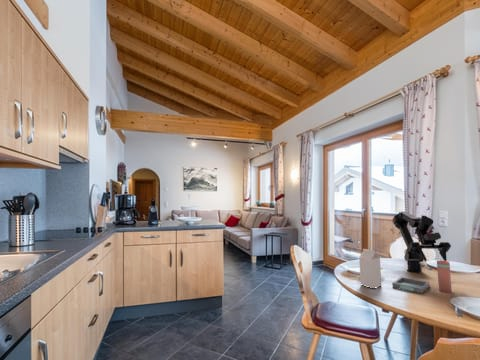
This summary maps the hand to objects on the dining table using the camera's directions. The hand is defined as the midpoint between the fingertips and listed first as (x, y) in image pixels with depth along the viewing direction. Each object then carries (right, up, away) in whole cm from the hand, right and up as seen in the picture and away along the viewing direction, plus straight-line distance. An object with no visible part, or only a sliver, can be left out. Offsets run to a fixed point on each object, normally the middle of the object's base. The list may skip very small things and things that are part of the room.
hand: (435, 260), depth 137 cm
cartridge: (-1, -12, -7) cm, 14 cm away
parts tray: (-14, -13, -2) cm, 19 cm away
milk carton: (-33, -14, +2) cm, 36 cm away
